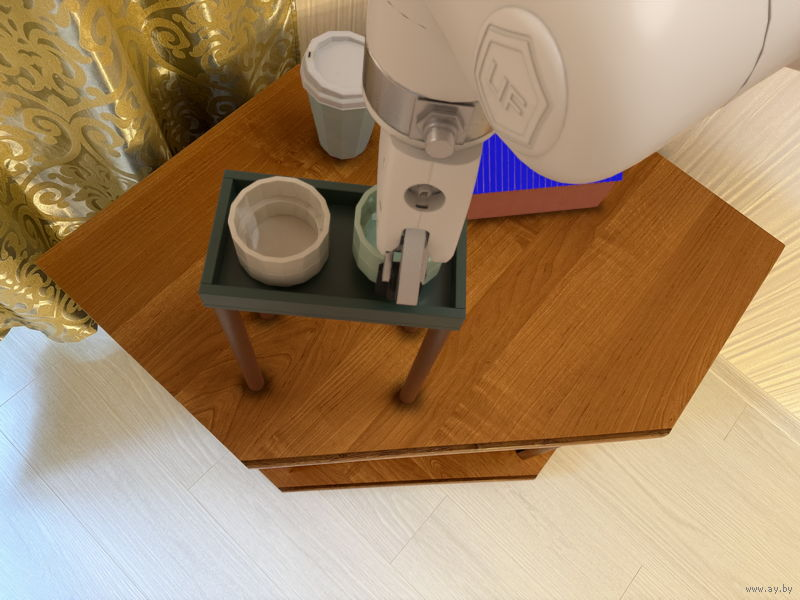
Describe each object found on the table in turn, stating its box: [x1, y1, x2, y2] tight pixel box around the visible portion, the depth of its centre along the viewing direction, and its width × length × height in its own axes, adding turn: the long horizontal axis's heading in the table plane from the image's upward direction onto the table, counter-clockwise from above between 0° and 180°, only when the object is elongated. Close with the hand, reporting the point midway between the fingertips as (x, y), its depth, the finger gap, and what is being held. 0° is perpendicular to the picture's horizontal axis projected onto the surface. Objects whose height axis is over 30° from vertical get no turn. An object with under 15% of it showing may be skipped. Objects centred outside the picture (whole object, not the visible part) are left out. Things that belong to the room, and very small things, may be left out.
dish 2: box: [352, 183, 443, 284], centre depth 43 cm, size 7×7×4 cm
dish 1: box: [228, 175, 330, 287], centre depth 44 cm, size 7×7×4 cm
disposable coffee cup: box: [299, 30, 376, 160], centre depth 74 cm, size 11×11×15 cm
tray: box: [197, 168, 468, 405], centre depth 57 cm, size 11×19×27 cm, turn 87°
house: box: [467, 133, 624, 221], centre depth 76 cm, size 12×20×12 cm, turn 100°
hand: (399, 245), depth 45 cm, fingers closed on dish 2, 7 cm apart
